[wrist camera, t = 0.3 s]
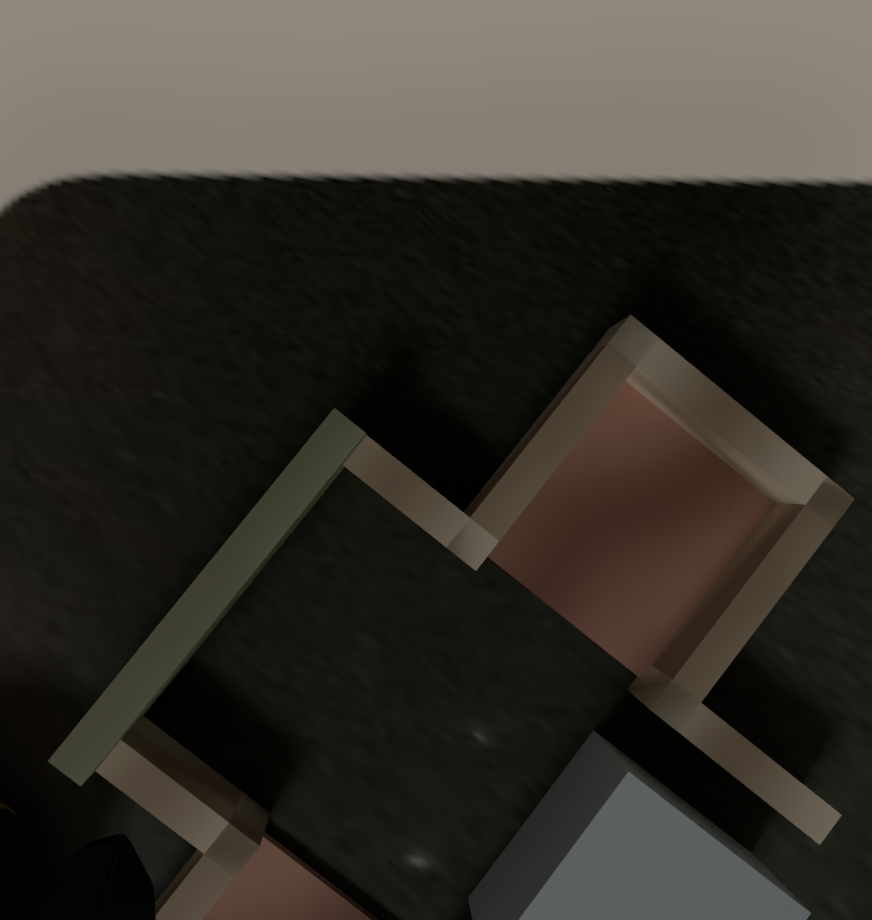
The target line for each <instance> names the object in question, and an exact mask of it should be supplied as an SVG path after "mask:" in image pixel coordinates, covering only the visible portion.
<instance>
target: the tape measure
mask: <svg viewBox="0 0 872 920" xmlns="http://www.w3.org/2000/svg"><path fill="white" fill-rule="evenodd" d="M47 897H48V883H47V874H46V869H45V866H44V862H43V859H42V855H41V853H40V850H39V847H38V845H37V843H36V841H35V839H34V837H33V835H32V833H31V832H30V830H29V829H28V827H27V826H26V825H25V823H24V822H23V821H22V819H21V818H20V817H19V816H18V815H17V814H16V813H15V812H14V810H13V809H11V808H10V807H9V806H8V805H7V804H6V802H5V800H4V798H3V796H1V795H0V920H33V918H34V917H35V915H36V914H37V912H38V911H39V909H40V908H41V906H42V905H43V903H44V902H45V900H46V899H47Z"/></svg>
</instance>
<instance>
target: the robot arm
mask: <svg viewBox="0 0 872 920" xmlns="http://www.w3.org/2000/svg"><path fill="white" fill-rule="evenodd" d="M33 920H156V906H155V894H154V889H153V885H152V882H151V879H150V877H149V875H148V873H147V872H146V870H145V868H144V866H143V864H142V862H141V860H140V859H139V857H138V855H137V853H136V851H135V849H134V847H133V846H132V844H131V842H130V840H129V839H128V838H127V837H126V836H125V835H123V834H115V835H112V836H109V837H105V838H102V839H99V840H95V841H92V842H89V843H87V844H85V845H84V846H83V847H82V848H81V849H80V850H79V851H78V853H77V854H76V855H75V857H74V858H73V860H72V861H71V863H70V864H69V866H68V867H67V869H66V870H65V872H64V873H63V875H62V876H61V878H60V879H59V881H58V882H57V884H56V885H55V887H54V888H53V890H52V891H51V893H50V894H49V896H48V897H47V899H46V900H45V902H44V903H43V905H42V906H41V908H40V909H39V911H38V912H37V914H36V915H35V917H34V918H33Z"/></svg>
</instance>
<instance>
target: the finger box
mask: <svg viewBox="0 0 872 920" xmlns="http://www.w3.org/2000/svg"><path fill="white" fill-rule="evenodd" d="M344 467H346V468H347V469H349V470H350V471H351V472H352V473H354V474H355V475H356V476H357V477H359V478H360V479H361V480H362V481H364V482H365V483H366V484H367V485H369V486H370V487H371V488H372V489H374V490H375V491H376V492H377V493H379V494H380V495H381V496H383V497H384V498H385V499H386V500H388V501H389V502H390V503H391V504H393V505H394V506H395V507H396V508H398V509H399V510H400V511H401V512H403V513H404V514H405V515H406V516H408V517H409V518H410V519H411V520H413V521H414V522H415V523H416V524H418V525H419V526H420V527H421V528H423V529H424V530H425V531H426V532H428V533H429V534H430V535H431V536H433V537H434V538H435V539H436V540H438V541H439V542H440V543H441V544H443V545H444V546H445V547H447V548H448V549H449V550H450V551H452V552H453V553H454V554H455V555H457V556H458V557H459V558H460V559H462V560H463V561H464V562H465V563H467V564H468V565H469V566H470V567H472V568H473V569H474V570H475V571H476V570H477V569H478V568H479V566H480V565H481V564H482V563H483V561H484V560H485V559H486V557H487V556H488V557H489V558H490V559H491V560H493V561H494V562H495V563H496V564H498V565H499V566H500V567H501V568H503V569H504V570H505V571H506V572H508V573H509V574H510V575H511V576H513V577H514V578H515V579H516V580H518V581H519V582H520V583H521V584H523V585H524V586H525V587H526V588H528V589H529V590H530V591H531V592H533V593H534V594H535V595H536V596H538V597H539V598H540V599H541V600H543V601H544V602H545V603H546V604H548V605H549V606H550V607H551V608H553V609H554V610H555V611H556V612H558V613H559V614H560V615H561V616H563V617H564V618H565V619H566V620H568V621H569V622H570V623H571V624H573V625H574V626H575V627H576V628H578V629H579V630H580V631H581V632H583V633H584V634H585V635H586V636H588V637H589V638H590V639H591V640H593V641H594V642H595V643H596V644H598V645H599V646H600V647H601V648H603V649H604V650H605V651H607V652H608V653H609V654H610V655H612V656H613V657H614V658H615V659H617V660H618V661H619V662H620V663H622V664H623V665H624V666H625V667H627V668H628V669H629V670H630V671H632V672H633V673H634V674H635V675H637V677H636V678H635V679H634V681H633V682H632V683H631V685H630V686H629V687H628V689H627V690H628V691H629V692H630V693H631V694H633V695H634V696H635V697H636V698H637V699H638V700H639V701H641V702H642V703H643V704H644V705H645V706H646V707H648V708H649V709H650V710H651V711H652V712H654V713H655V714H656V715H657V716H659V717H660V718H661V719H662V720H664V721H665V722H666V723H667V724H669V725H670V726H671V727H672V728H674V729H675V730H676V731H677V732H679V733H680V734H681V735H682V736H684V737H685V738H686V739H687V740H689V741H690V742H691V743H693V744H694V745H695V746H696V747H698V748H699V749H700V750H701V751H703V752H704V753H705V754H706V755H708V756H709V757H710V758H711V759H713V760H714V761H715V762H716V763H718V764H719V765H720V766H721V767H723V768H724V769H725V770H726V771H728V772H729V773H730V774H731V775H733V776H734V777H735V778H736V779H738V780H739V781H740V782H741V783H743V784H744V785H745V786H746V787H748V788H749V789H750V790H752V791H753V792H754V793H755V794H757V795H758V796H759V797H760V798H762V799H763V800H764V801H765V802H767V803H768V804H769V805H770V806H772V807H773V808H774V809H775V810H777V811H778V812H779V813H780V814H782V815H783V816H784V817H785V818H787V819H788V820H789V821H790V822H792V823H793V824H794V825H795V826H797V827H798V828H799V829H800V830H802V831H803V832H804V833H805V834H807V835H808V836H809V837H811V838H812V839H813V840H814V841H816V842H817V843H818V844H819V845H820V844H821V843H822V841H823V840H824V839H825V837H826V836H827V834H828V833H829V832H830V830H831V829H832V828H833V826H834V825H835V824H836V822H837V821H838V819H839V818H840V817H841V814H840V813H838V812H837V811H836V810H835V809H833V808H832V807H831V806H830V805H828V804H827V803H826V802H825V801H823V800H822V799H821V798H820V797H818V796H817V795H816V794H815V793H813V792H812V791H811V790H810V789H808V788H807V787H806V786H805V785H803V784H802V783H801V782H800V781H798V780H797V779H796V778H795V777H793V776H792V775H791V774H790V773H788V772H787V771H786V770H785V769H783V768H782V767H781V766H780V765H778V764H777V763H776V762H775V761H773V760H772V759H771V758H770V757H768V756H767V755H766V754H765V753H763V752H762V751H761V750H760V749H758V748H757V747H756V746H755V745H753V744H752V743H751V742H750V741H748V740H747V739H746V738H745V737H743V736H742V735H741V734H740V733H738V732H737V731H736V730H735V729H733V728H732V727H731V726H730V725H728V724H727V723H726V722H725V721H723V720H722V719H721V718H720V717H718V716H717V715H716V714H715V713H713V712H712V711H711V710H710V709H708V708H707V707H706V706H705V705H703V704H702V703H701V702H702V701H703V699H704V698H705V697H706V695H707V694H708V693H709V691H710V690H711V689H712V687H713V686H714V685H715V683H716V682H717V681H718V679H719V678H720V677H721V675H722V674H723V673H724V672H725V670H726V669H727V668H728V666H729V665H730V664H731V662H732V661H733V660H734V658H735V657H736V656H737V654H738V653H739V652H740V650H741V649H742V648H743V646H744V645H745V644H746V642H747V641H748V640H749V638H750V637H751V636H752V634H753V633H754V632H755V630H756V629H757V628H758V626H759V625H760V624H761V622H762V621H763V620H764V619H765V617H766V616H767V615H768V613H769V612H770V611H771V609H772V608H773V607H774V605H775V604H776V603H777V601H778V600H779V599H780V597H781V596H782V595H783V593H784V592H785V591H786V589H787V588H788V587H789V585H790V584H791V583H792V581H793V580H794V579H795V577H796V576H797V575H798V573H799V572H800V571H801V569H802V568H803V567H804V566H805V564H806V563H807V562H808V560H809V559H810V558H811V556H812V555H813V554H814V552H815V551H816V550H817V548H818V547H819V546H820V544H821V543H822V542H823V540H824V539H825V538H826V536H827V535H828V534H829V532H830V531H831V530H832V528H833V527H834V526H835V524H836V523H837V522H838V520H839V519H840V518H841V516H842V515H843V514H844V513H845V511H846V510H847V509H848V507H849V506H850V505H851V503H852V502H853V501H854V498H853V497H852V496H850V495H849V494H848V493H847V492H846V491H844V490H843V489H842V488H841V487H840V486H838V485H837V484H836V483H835V482H833V481H832V480H831V479H830V478H829V477H827V476H826V475H825V474H824V473H823V472H821V471H820V470H819V469H818V468H816V467H815V466H814V465H813V464H812V463H810V462H809V461H808V460H807V459H806V458H804V457H803V456H802V455H801V454H799V453H798V452H797V451H796V450H795V449H793V448H792V447H791V446H790V445H789V444H787V443H786V442H785V441H784V440H782V439H781V438H780V437H779V436H778V435H776V434H775V433H774V432H773V431H772V430H770V429H769V428H768V427H767V426H765V425H764V424H763V423H762V422H761V421H759V420H758V419H757V418H756V417H755V416H753V415H752V414H751V413H750V412H748V411H747V410H746V409H745V408H744V407H742V406H741V405H740V404H739V403H738V402H736V401H735V400H734V399H733V398H731V397H730V396H729V395H728V394H727V393H725V392H724V391H723V390H722V389H721V388H719V387H718V386H717V385H716V384H714V383H713V382H712V381H711V380H710V379H708V378H707V377H706V376H705V375H704V374H702V373H701V372H700V371H699V370H697V369H696V368H695V367H694V366H693V365H691V364H690V363H689V362H688V361H687V360H685V359H684V358H683V357H682V356H680V355H679V354H678V353H677V352H676V351H674V350H673V349H672V348H671V347H670V346H668V345H667V344H666V343H665V342H663V341H662V340H661V339H660V338H659V337H657V336H656V335H655V334H654V333H653V332H651V331H650V330H649V329H648V328H646V327H645V326H644V325H643V324H642V323H640V322H639V321H638V320H637V319H635V318H634V317H633V316H632V315H629V316H628V317H626V318H624V319H623V320H621V321H620V322H618V323H617V324H615V325H614V326H612V327H610V328H609V329H608V330H607V332H606V333H605V334H604V336H603V337H602V338H601V339H600V341H599V342H598V343H597V344H596V346H595V347H594V348H593V349H592V351H591V352H590V353H589V354H588V356H587V357H586V358H585V360H584V361H583V362H582V363H581V365H580V366H579V367H578V368H577V370H576V371H575V372H574V373H573V375H572V376H571V377H570V378H569V380H568V381H567V382H566V384H565V385H564V386H563V387H562V389H561V390H560V391H559V392H558V394H557V395H556V396H555V397H554V399H553V400H552V401H551V403H550V404H549V405H548V406H547V408H546V409H545V410H544V411H543V413H542V414H541V415H540V416H539V418H538V419H537V420H536V421H535V423H534V424H533V425H532V427H531V428H530V429H529V430H528V432H527V433H526V434H525V435H524V437H523V438H522V439H521V440H520V442H519V443H518V444H517V445H516V447H515V448H514V449H513V451H512V452H511V453H510V454H509V456H508V457H507V458H506V459H505V461H504V462H503V463H502V464H501V466H500V467H499V468H498V469H497V471H496V472H495V473H494V475H493V476H492V477H491V478H490V480H489V481H488V482H487V483H486V485H485V486H484V487H483V488H482V490H481V491H480V492H479V493H478V495H477V496H476V497H475V499H474V500H473V501H472V502H471V504H470V505H469V506H468V507H467V509H466V510H465V511H464V512H462V511H461V510H460V509H458V508H457V507H456V506H455V505H453V504H452V503H451V502H450V501H448V500H447V499H446V498H445V497H443V496H442V495H441V494H440V493H438V492H437V491H436V490H435V489H433V488H432V487H431V486H430V485H428V484H427V483H426V482H425V481H423V480H422V479H421V478H420V477H418V476H417V475H416V474H415V473H413V472H412V471H411V470H410V469H408V468H407V467H406V466H405V465H403V464H402V463H401V462H400V461H398V460H397V459H396V458H395V457H393V456H392V455H391V454H390V453H388V452H387V451H386V450H385V449H383V448H382V447H381V446H380V445H378V444H377V443H376V442H375V441H373V440H372V439H371V438H370V437H368V436H367V435H366V433H365V432H364V431H363V430H362V429H360V428H359V427H358V426H357V425H355V424H354V423H353V422H352V421H350V420H349V419H348V418H347V417H345V416H344V415H343V414H342V413H340V412H339V411H338V410H337V409H335V408H334V409H333V410H332V412H331V413H330V414H329V415H328V417H327V418H326V419H325V420H324V421H323V423H322V424H321V425H320V426H319V428H318V429H317V430H316V431H315V433H314V434H313V435H312V436H311V437H310V439H309V440H308V441H307V442H306V444H305V445H304V446H303V447H302V449H301V450H300V451H299V452H298V453H297V455H296V456H295V457H294V458H293V460H292V461H291V462H290V463H289V465H288V466H287V467H286V468H285V470H284V471H283V472H282V473H281V474H280V476H279V477H278V478H277V479H276V481H275V482H274V483H273V484H272V486H271V487H270V488H269V489H268V490H267V492H266V493H265V494H264V495H263V497H262V498H261V499H260V500H259V502H258V503H257V504H256V505H255V506H254V508H253V509H252V510H251V511H250V513H249V514H248V515H247V516H246V518H245V519H244V520H243V521H242V522H241V524H240V525H239V526H238V527H237V529H236V530H235V531H234V532H233V534H232V535H231V536H230V537H229V538H228V540H227V541H226V542H225V543H224V545H223V546H222V547H221V548H220V550H219V551H218V552H217V553H216V554H215V556H214V557H213V558H212V559H211V561H210V562H209V563H208V564H207V566H206V567H205V568H204V569H203V571H202V572H201V573H200V574H199V575H198V577H197V578H196V579H195V580H194V582H193V583H192V584H191V585H190V587H189V588H188V589H187V590H186V591H185V593H184V594H183V595H182V596H181V598H180V599H179V600H178V601H177V603H176V604H175V605H174V606H173V607H172V609H171V610H170V611H169V612H168V614H167V615H166V616H165V617H164V619H163V620H162V621H161V622H160V623H159V625H158V626H157V627H156V628H155V630H154V631H153V632H152V633H151V635H150V636H149V637H148V638H147V639H146V641H145V642H144V643H143V644H142V646H141V647H140V648H139V649H138V651H137V652H136V653H135V654H134V655H133V657H132V658H131V659H130V660H129V662H128V663H127V664H126V665H125V667H124V668H123V669H122V670H121V672H120V673H119V674H118V675H117V676H116V678H115V679H114V680H113V681H112V683H111V684H110V685H109V686H108V688H107V689H106V690H105V691H104V692H103V694H102V695H101V696H100V697H99V699H98V700H97V701H96V702H95V704H94V705H93V706H92V707H91V708H90V710H89V711H88V712H87V713H86V715H85V716H84V717H83V718H82V720H81V721H80V722H79V723H78V724H77V726H76V727H75V728H74V729H73V731H72V732H71V733H70V734H69V736H68V737H67V738H66V739H65V740H64V742H63V743H62V744H61V745H60V747H59V748H58V749H57V750H56V752H55V753H54V754H53V755H52V756H51V758H50V759H49V760H48V762H49V763H50V764H52V765H53V766H54V767H56V768H57V769H58V770H60V771H61V772H62V773H64V774H65V775H66V776H68V777H69V778H70V779H71V780H73V781H74V782H75V783H77V784H78V785H79V786H82V785H83V783H84V782H85V781H86V780H87V779H88V778H89V777H90V776H91V775H92V774H93V773H94V772H95V771H96V772H97V773H98V774H100V775H101V776H102V777H104V778H105V779H106V780H108V781H109V782H110V783H112V784H113V785H114V786H116V787H117V788H118V789H119V790H121V791H122V792H123V793H125V794H126V795H127V796H129V797H130V798H131V799H133V800H134V801H135V802H136V803H138V804H139V805H140V806H142V807H143V808H144V809H146V810H147V811H148V812H150V813H151V814H152V815H154V816H155V817H156V818H157V819H159V820H160V821H161V822H163V823H164V824H165V825H167V826H168V827H169V828H171V829H172V830H173V831H175V832H176V833H177V834H178V835H180V836H181V837H182V838H184V839H185V840H186V841H188V842H189V843H190V844H192V845H193V846H194V847H195V848H197V850H196V851H195V852H194V854H193V855H192V856H191V857H190V859H189V860H188V861H187V862H186V864H185V865H184V866H183V868H182V869H181V870H180V871H179V873H178V874H177V875H176V876H175V878H174V879H173V880H172V881H171V883H170V884H169V885H168V887H167V888H166V889H165V890H164V892H163V893H162V894H161V895H160V897H159V898H158V899H157V900H156V902H155V906H156V920H379V919H378V918H376V917H375V916H374V915H372V914H371V913H370V912H369V911H367V910H366V909H365V908H363V907H362V906H361V905H359V904H358V903H357V902H356V901H354V900H353V899H352V898H350V897H349V896H348V895H346V894H345V893H344V892H342V891H341V890H340V889H339V888H337V887H336V886H335V885H333V884H332V883H331V882H329V881H328V880H327V879H326V878H324V877H323V876H322V875H320V874H319V873H318V872H316V871H315V870H314V869H312V868H311V867H310V866H309V865H307V864H306V863H305V862H303V861H302V860H301V859H299V858H298V857H297V856H296V855H294V854H293V853H292V852H290V851H289V850H288V849H286V848H285V847H284V846H283V845H281V844H280V843H279V842H277V841H276V840H275V839H273V838H272V837H271V836H269V835H268V834H267V833H266V832H264V831H265V828H266V825H267V822H268V819H269V816H270V813H269V812H268V811H267V810H265V809H264V808H263V807H262V806H260V805H259V804H258V803H256V802H255V801H254V800H252V799H251V798H250V797H249V796H247V795H246V794H245V793H243V792H242V791H241V790H239V789H238V788H237V787H236V786H234V785H233V784H232V783H230V782H229V781H228V780H226V779H225V778H224V777H223V776H221V775H220V774H219V773H217V772H216V771H215V770H213V769H212V768H211V767H210V766H208V765H207V764H206V763H204V762H203V761H202V760H200V759H199V758H198V757H197V756H195V755H194V754H193V753H191V752H190V751H189V750H187V749H186V748H185V747H184V746H182V745H181V744H180V743H178V742H177V741H176V740H174V739H173V738H172V737H170V736H169V735H168V734H167V733H165V732H164V731H163V730H161V729H160V728H159V727H157V726H156V725H155V724H154V723H152V722H151V721H150V720H148V719H147V718H146V717H144V715H145V714H146V713H147V712H148V710H149V709H150V708H151V707H152V705H153V704H154V703H155V702H156V700H157V699H158V698H159V697H160V695H161V694H162V693H163V692H164V691H165V689H166V688H167V687H168V686H169V684H170V683H171V682H172V681H173V679H174V678H175V677H176V676H177V674H178V673H179V672H180V671H181V669H182V668H183V667H184V666H185V664H186V663H187V662H188V661H189V660H190V658H191V657H192V656H193V655H194V653H195V652H196V651H197V650H198V648H199V647H200V646H201V645H202V643H203V642H204V641H205V640H206V638H207V637H208V636H209V635H210V633H211V632H212V631H213V630H214V629H215V627H216V626H217V625H218V624H219V622H220V621H221V620H222V619H223V617H224V616H225V615H226V614H227V612H228V611H229V610H230V609H231V607H232V606H233V605H234V604H235V602H236V601H237V600H238V599H239V598H240V596H241V595H242V594H243V593H244V591H245V590H246V589H247V588H248V586H249V585H250V584H251V583H252V581H253V580H254V579H255V578H256V576H257V575H258V574H259V573H260V571H261V570H262V569H263V568H264V567H265V565H266V564H267V563H268V562H269V560H270V559H271V558H272V557H273V555H274V554H275V553H276V552H277V550H278V549H279V548H280V547H281V545H282V544H283V543H284V542H285V540H286V539H287V538H288V537H289V535H290V534H291V533H292V532H293V531H294V529H295V528H296V527H297V526H298V524H299V523H300V522H301V521H302V519H303V518H304V517H305V516H306V514H307V513H308V512H309V511H310V509H311V508H312V507H313V506H314V504H315V503H316V502H317V501H318V500H319V498H320V497H321V496H322V495H323V493H324V492H325V491H326V490H327V488H328V487H329V486H330V485H331V483H332V482H333V481H334V480H335V478H336V477H337V476H338V475H339V473H340V472H341V471H342V470H343V469H344Z"/></svg>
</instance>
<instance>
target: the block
mask: <svg viewBox="0 0 872 920" xmlns="http://www.w3.org/2000/svg"><path fill="white" fill-rule="evenodd" d="M468 901H469V905H470V910H471V915H472V920H806V919H807V918H808V917H809V915H810V914H811V913H810V912H809V911H808V909H807V908H806V907H805V906H804V905H803V904H802V903H801V902H800V901H799V900H798V899H797V898H796V897H795V896H794V895H793V894H792V893H791V892H790V891H789V890H788V889H787V888H786V887H785V886H784V885H783V884H782V883H781V882H780V881H779V880H778V879H777V878H776V877H775V876H774V875H773V874H772V873H771V872H770V871H769V870H768V869H767V868H766V867H765V866H764V865H763V864H762V863H761V862H760V861H759V860H758V859H757V858H756V857H755V856H754V855H753V854H752V853H751V852H750V851H749V850H747V849H746V848H745V847H743V846H742V845H741V844H740V843H738V842H737V841H736V840H734V839H733V838H732V837H731V836H729V835H728V834H727V833H725V832H724V831H723V830H721V829H720V828H719V827H718V826H716V825H715V824H714V823H712V822H711V821H710V820H709V819H707V818H706V817H705V816H703V815H702V814H701V813H700V812H698V811H697V810H696V809H694V808H693V807H692V806H691V805H689V804H688V803H687V802H685V801H684V800H683V799H682V798H680V797H679V796H678V795H676V794H675V793H674V792H673V791H671V790H670V789H669V788H667V787H666V786H665V785H664V784H662V783H661V782H660V781H658V780H657V779H656V778H655V777H653V776H652V775H651V774H649V773H648V772H647V771H646V770H644V769H643V768H642V767H640V766H639V765H638V764H637V763H635V762H634V761H633V760H631V759H630V758H629V757H627V756H626V755H625V754H624V753H622V752H621V751H620V750H618V749H617V748H616V747H615V746H613V745H612V744H611V743H609V742H608V741H607V740H606V739H604V738H603V737H602V736H600V735H599V734H598V733H597V732H595V731H593V732H592V733H591V735H590V736H589V737H588V739H587V740H586V741H585V743H584V744H583V745H582V747H581V748H580V749H579V751H578V752H577V753H576V755H575V756H574V757H573V759H572V760H571V761H570V763H569V764H568V765H567V767H566V768H565V769H564V771H563V772H562V773H561V775H560V776H559V777H558V779H557V780H556V781H555V783H554V784H553V785H552V787H551V788H550V789H549V791H548V792H547V793H546V795H545V796H544V797H543V799H542V800H541V801H540V803H539V804H538V805H537V807H536V808H535V809H534V811H533V812H532V813H531V815H530V816H529V817H528V819H527V820H526V821H525V823H524V824H523V825H522V827H521V828H520V829H519V831H518V832H517V833H516V835H515V836H514V837H513V839H512V840H511V841H510V843H509V844H508V845H507V847H506V848H505V849H504V851H503V852H502V853H501V855H500V856H499V857H498V859H497V860H496V861H495V863H494V864H493V865H492V867H491V868H490V869H489V871H488V872H487V873H486V875H485V876H484V878H483V879H482V880H481V882H480V883H479V884H478V886H477V887H476V888H475V890H474V891H473V892H472V894H471V895H470V896H469V898H468Z"/></svg>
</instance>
